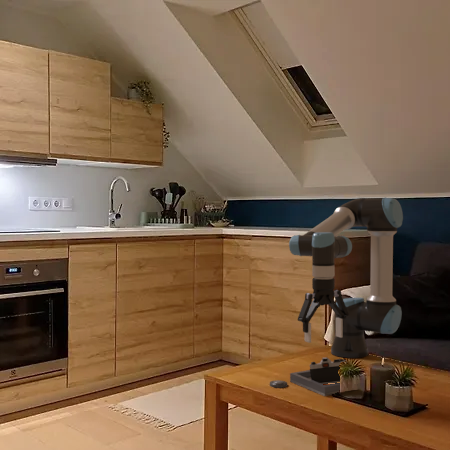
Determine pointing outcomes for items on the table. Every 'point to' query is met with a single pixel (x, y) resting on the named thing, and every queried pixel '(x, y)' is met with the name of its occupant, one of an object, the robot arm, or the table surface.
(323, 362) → the camera
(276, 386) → the lens cap
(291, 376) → the case tray
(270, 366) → the table surface
